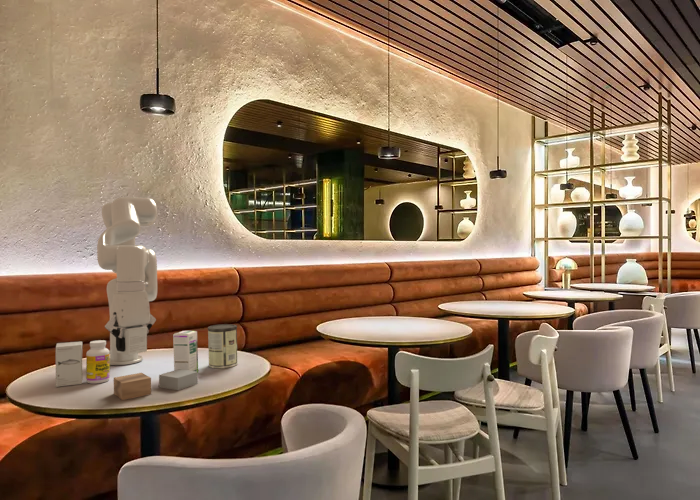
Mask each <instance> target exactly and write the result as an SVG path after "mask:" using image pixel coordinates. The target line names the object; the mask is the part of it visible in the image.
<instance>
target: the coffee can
mask: <svg viewBox="0 0 700 500" xmlns="http://www.w3.org/2000/svg"><path fill="white" fill-rule="evenodd" d="M237 331H238V325H236V324H231V323H230V324H229V323H224V324H221V323H220V324H213V325H210V326H208V327H207V335H208V336H207V337H208V338H207V339H208V341H207V343H208V345H207V346H208V347H207V348H208V367H209V368H210V369H211V368H212V369H228V368H233V367H236V366H237V365H238V337H237V336H238V333H237Z"/></svg>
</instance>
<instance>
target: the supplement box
mask: <svg viewBox="0 0 700 500" xmlns="http://www.w3.org/2000/svg"><path fill="white" fill-rule="evenodd" d="M82 384H83V341H70V342H57V343H56V345H55V388H59V387H66V386H74V385H75V386H76V385H82Z"/></svg>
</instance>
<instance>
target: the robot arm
mask: <svg viewBox="0 0 700 500" xmlns="http://www.w3.org/2000/svg"><path fill="white" fill-rule="evenodd" d="M101 217H102V221H103V223H104V226H105V228H106V229H105V230H104V231H103V232H102V233H101V234H100V236H99V238H98V240H97V244H96V246H97V249H96V251H97V253H96V257H97V265H98V266H99V267H100V269H102V270H105V271H106V270H107V271H112V273H115V274H116V278H113V279H111V280H110V281H108V283H107V284H106V294H107V295H106V296H107V300H108V309H109V320H108V321H107V323H106V324H105V325H104V329H106V330H107V331H108V332H109V345H110V346H109V360H110V361H109V363H110V366H126V365H132V364H136V363H137V364H138V363H140V362H142V361H143V360H144V359H143V356H142V355H139V353H136V354H131V355H126V354H122V353H117V351H121V352H123V351H125V338H124V337H123V335H124V332H125V331H124V330H125V329H126V327H133V326H143V327H147V334H149V332H150V329H151V328H152V327H153V325H154V324H155V322H156V321H157V319H156V317H155V316H153V315H152V314H151V310H150V302H153V301H155V300H156V299H157V296H158V263H157V262H158V261H157V255H156V253H155V251H154V250H153V249H151V248H146V247H145V246H144V245H142V244H136V238H137V237H138V236H139V235H140V233H141V228H142V227H149V226H150V227H151V226H152V225H153V224H154V223H155V222H156V220H157V219H158V206H157V203H156V202H155V200H154V199H153V198H151V197H137V196H135V197H133V196H122V197H118V198H115V199H114V200H113V202H107V203H105V204H104V205H102V208H101Z"/></svg>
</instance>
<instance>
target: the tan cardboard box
mask: <svg viewBox="0 0 700 500" xmlns="http://www.w3.org/2000/svg"><path fill="white" fill-rule="evenodd" d="M113 395H115V396H116V397H117V398H119V399H121V401H126V400H130V399H134V398H139V397H144V396H149V395H152V377H150V376H148V375H146V374H145V373H144V372H138V373H132V374H127V375H121V376H116V377H113Z"/></svg>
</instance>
